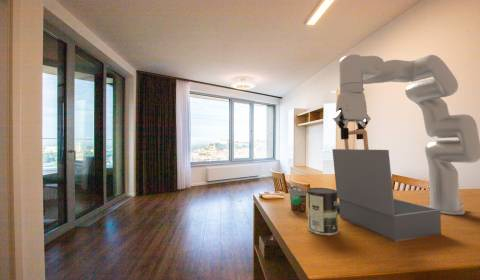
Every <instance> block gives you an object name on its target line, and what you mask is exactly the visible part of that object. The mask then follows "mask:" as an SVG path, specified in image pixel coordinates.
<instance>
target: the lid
mask: <svg viewBox="0 0 480 280" xmlns="http://www.w3.org/2000/svg"><path fill="white" fill-rule="evenodd" d="M357 129H358V128H357ZM356 134H363V139H362V140H363V149H361V148H360V149H357V148H356V149H351V148H350V147H349V139H343V141H344V148H332V150H331V151H332V160H333V167H334V168H333V169H334V181H335V190H336V191H337V199H342V200H345V201H348V202H351V203H354V204H357V205H360V206H363V207H366V208H369V209H372V210H375V211H378V212H381V213H384V214H387V215H390V216H395V209H394V199H395V198H394V191H393V189H394V188H393V182H392V181H393V180H392V171H391V169H392V168H391V161H390V151H389V149H369V141H368V140H369V139H368V131H367V130H366V128H364V129H358V130H356V129H351V130H350V129H349V136H350V135H356ZM349 148H350V149H349Z"/></svg>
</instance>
